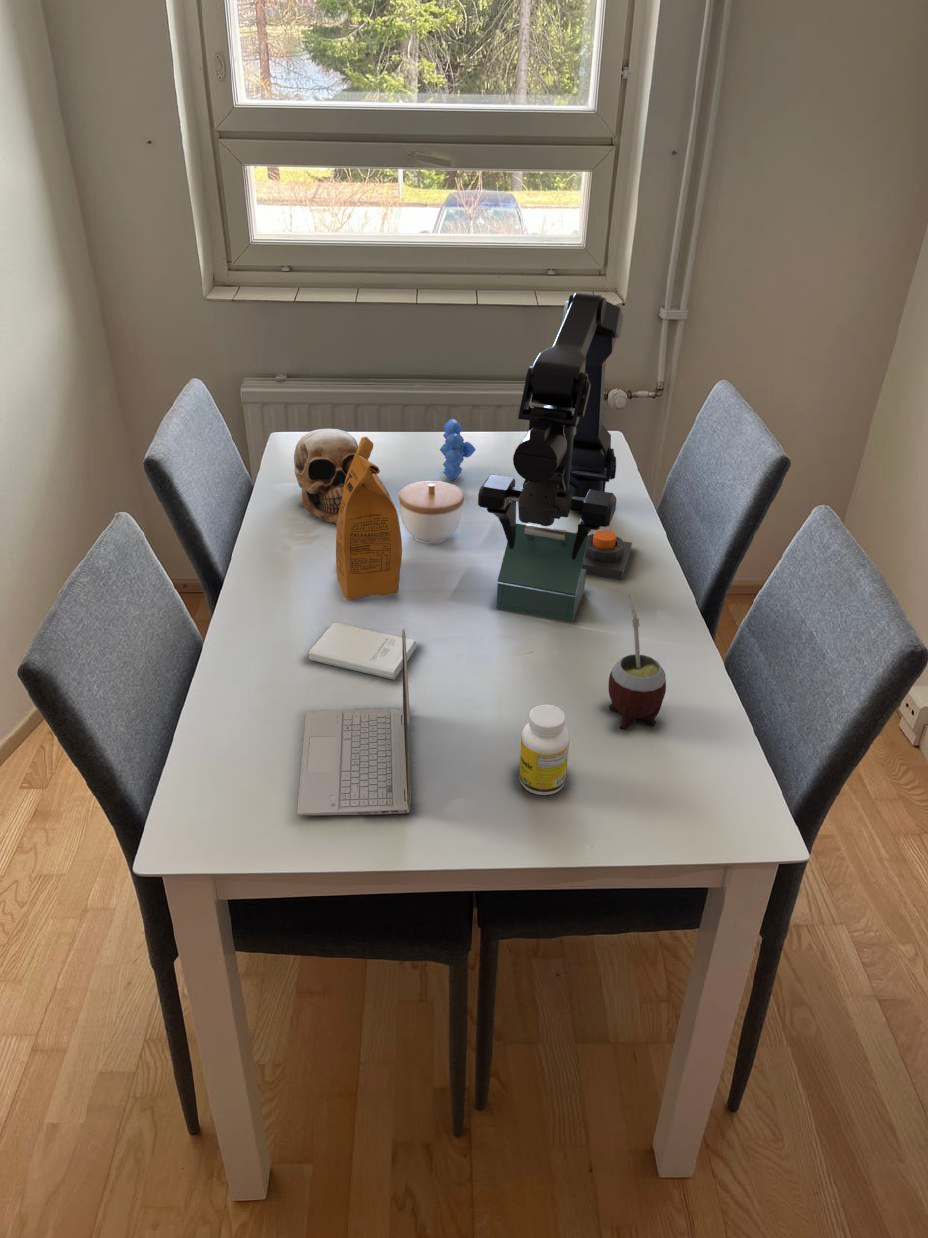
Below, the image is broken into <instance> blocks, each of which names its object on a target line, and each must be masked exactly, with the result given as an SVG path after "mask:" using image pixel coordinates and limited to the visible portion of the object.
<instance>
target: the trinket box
mask: <svg viewBox="0 0 928 1238" xmlns="http://www.w3.org/2000/svg"><path fill="white" fill-rule="evenodd" d="M464 500H465V494H464V491H463V490H462V489H461V488H460V487H459V486H457V485H456V484H453V483H449V482H446V481H440V480H421V481H416V482H411V483H410V484H407V485H405V486H404V487H402V488H401V489H400V491H399V492H398V501H399V512H400V513H399V514H400V519H401V522H402V524H403V527H404V528H405V530H406V532H408V533H409V535H411V537H412V538H413V539H414V540H415V541H417V542H418V543H421V544H425V545H438V544H442V543H444V542H446V541H447V540H448V539H449V538H450V537H451V536H452V535H453V534H454V533H455V532H456V531H457V529H458V528H459V526H460V523H461V521H462V517H463V511H464V510H463V508H464Z"/></svg>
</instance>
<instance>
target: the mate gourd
mask: <svg viewBox="0 0 928 1238" xmlns="http://www.w3.org/2000/svg"><path fill="white" fill-rule="evenodd" d="M625 597H626V600H627V603H628V607H629V608H630V612H631V616H632V619H631V621H632V622H631V623H632V627H633V637H634V639H633V640H634V654H627V655H626V656H623V657H621V658H619V660H618V661H617V662H616V663H615V664H614V665H613V666H612V668H611V671H610V673H609V676H608V694H609V699H610V701H611V702H610V704H609V706H608V710H609V711H610V712H613V713H616V714H618V715H621V717H622V722H621V723H620V725H619V729H620V730H621V731H626V730H627V729H628V728H629V727H630V725H631V724H632V722H634V721H636V722H639V723H641V724H643V725H647V726H649V727H653V728H654V727H655V726H656V723H657V720H655V719H656V717H657V716H658V714H659V713H660V711H661V708H662V704H663V701H664V698H665V696H666V692H667V679H666V678H667V677H666V676H667V675H666V672H665V670H664V668H663V667H662V666H661V664H660V663H659V661H658V660H656V659H654V658H653V657H651V656H648V655H645V654H641V652H640V635H639V633H640V631H639V627H640V622H639V620H640V619H639V618H638V614H637V611H636V608H635V605H634V602H633V600H632V597H631V595H630V593H626V594H625Z"/></svg>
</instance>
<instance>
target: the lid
mask: <svg viewBox="0 0 928 1238" xmlns="http://www.w3.org/2000/svg"><path fill="white" fill-rule="evenodd" d="M576 535H577V532H571V531H568V530H567V529H560V528H554V527H550V526H542V525H537V524H531V523H525V524H524V523H517V522H516V538H515V545H514V548H513V549H510V547H509V544H508V541H506V546H505V550H504V553H503V557H502V562H501V565H500V568H499V569H500V570H499V574H498V577H497V581H498V582H502V583H507V584H513V585H518V586H524V587H530V588H535V589H541V590H546V591H552V592H557V593H563V594H569V595H574V596H575V595H576V592H577V587H578V583H579V579H580V574H581V570H582V566H583V561H584V557H585V553H586V548H587V544H588V540H589V535H590V534H588V535H587V536H586V538H585V539H584V541H583V543H582V545H581V547H580V549H579V552H578V554H577V556H576V558H575V560H572V551H573V547H574V543H575V539H576Z"/></svg>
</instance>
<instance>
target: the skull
mask: <svg viewBox="0 0 928 1238" xmlns="http://www.w3.org/2000/svg"><path fill="white" fill-rule="evenodd" d="M358 446H359V443H358V442H357V440H356V438H355V437H354V436H353V435H352V434H350V433H349V432H347V431H345V430H342V429H338V428H320V429H319V428H318V429H315V430H311V431H308V432H307V433H305V434H304V435H302V436H301V437H300V439H299V440H298V441H297V443H296V446H295V448H294V452H293V464H294V475H295V477H296V481H297V483H298V487H299V488H300V489H301V502H302V505H303V507H304V508H305V509H306V510H307V512H309V513H310V514H312V515H313V516H314V517H315V518H319V520H320V521H321V522H325V523H332V524H336V525H337V518H338V513H339V508H340V504H341V500H342V496H343V491H344V484H345V479H346V476H347V473H348V470H349V468H350V466H351V464H352V461H353V458H354V456H355V454H356V451H357V449H358Z"/></svg>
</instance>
